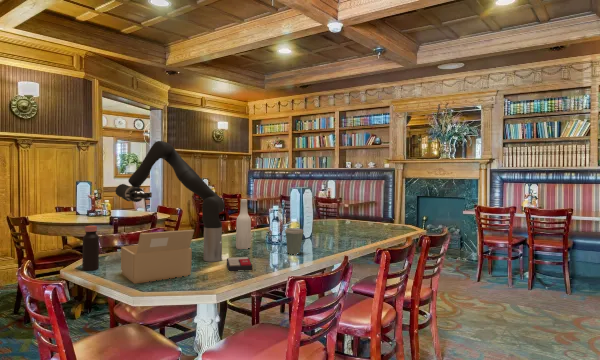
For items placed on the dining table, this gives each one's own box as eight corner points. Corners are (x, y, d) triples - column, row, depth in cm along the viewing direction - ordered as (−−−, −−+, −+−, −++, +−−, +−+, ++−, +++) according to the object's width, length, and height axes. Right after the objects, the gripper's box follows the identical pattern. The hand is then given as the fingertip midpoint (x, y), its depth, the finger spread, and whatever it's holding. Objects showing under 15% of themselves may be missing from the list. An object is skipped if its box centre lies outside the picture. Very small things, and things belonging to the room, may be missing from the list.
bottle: (90, 271, 184) (90, 227, 183) (78, 270, 186) (79, 226, 186) (102, 268, 190) (102, 225, 190) (91, 267, 192) (91, 225, 192)
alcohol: (250, 249, 243) (251, 199, 242) (236, 249, 241) (236, 199, 241) (250, 247, 252) (251, 198, 251) (235, 247, 250) (236, 198, 250)
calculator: (228, 264, 187) (226, 256, 202) (228, 274, 188) (226, 265, 202) (252, 264, 190) (248, 255, 205) (252, 273, 190) (248, 264, 205)
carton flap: (193, 229, 175) (194, 230, 175) (188, 247, 179) (189, 248, 179) (140, 233, 162) (140, 234, 161) (136, 252, 166) (136, 253, 165)
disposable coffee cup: (292, 251, 239) (292, 226, 238) (306, 254, 232) (307, 228, 232) (280, 254, 230) (281, 228, 230) (296, 257, 224) (296, 229, 224)
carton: (175, 266, 196) (175, 241, 196) (191, 275, 180) (192, 248, 180) (120, 273, 181) (120, 246, 181) (133, 283, 165) (133, 254, 165)
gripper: (120, 187, 205) (130, 188, 191) (147, 186, 213) (158, 188, 199) (120, 201, 205) (129, 204, 191) (147, 201, 213) (158, 203, 199)
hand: (144, 196), depth 195 cm, fingers closed
